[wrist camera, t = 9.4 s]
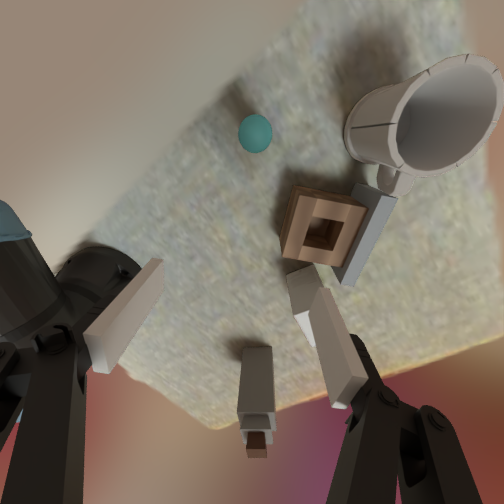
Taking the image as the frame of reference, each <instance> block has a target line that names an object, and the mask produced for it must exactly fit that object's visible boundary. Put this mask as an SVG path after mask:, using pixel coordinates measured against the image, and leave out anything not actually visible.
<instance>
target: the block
mask: <svg viewBox="0 0 504 504" xmlns="http://www.w3.org/2000/svg"><path fill="white" fill-rule="evenodd" d="M368 210H369V208H368V207H366V206H365V205H363V204H362V203H360V202H359V201H357V200H356V199H354V198H353V197H351V196H347V195H342V194H337V193H332V192H327V191H322V190H317V189H311V188H306V187H301V186H296V185H293V188H292V192H291V196H290V199H289V203H288V207H287V211H286V215H285V218H284V222H283V226H282V230H281V234H280V237H279V240H280V246H281V252H282V257H286V258H291V259H297V260H302V261H308V262H314V263H319V264H325V265H330V266H336V267H342V268H343V265H344V263H345V261H346V259H347V257H348V254H349V252H350V250H351V248H352V245H353V243H354V241H355V239H356V237H357V234H358V232H359V230H360V228H361V226H362V223H363V221H364V219H365V217H366V214H367V212H368Z"/></svg>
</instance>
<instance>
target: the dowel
mask: <svg viewBox="0 0 504 504" xmlns="http://www.w3.org/2000/svg"><path fill="white" fill-rule="evenodd" d="M238 136H239V141H240V143H241V145H242V146H243V148H244V149H246V150H247V151H249V152H251V153H259V152H262V151H263V150H265V149H266V148H267V147H268V146H269V144H270V142H271V139H272V128H271V125H270V123H269V122H268V120H267V119H266V118H265V117H263V116H261V115H257V114H254V115H250V116H248V117H246V118H245V119H244V120H243V121H242V123H241V125H240V127H239V132H238Z"/></svg>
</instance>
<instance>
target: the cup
mask: <svg viewBox="0 0 504 504" xmlns="http://www.w3.org/2000/svg"><path fill="white" fill-rule="evenodd" d="M496 68H497V66H496V65H495V64H493V63H492V62H491V61H490V60H488V59H487V58H486V57H483V56H478V55H472V54H467V55H466V54H463V55H458V56H454V57H449V58H446V59H444V60H442V61H441V62H439V63H437V64H435V65H433V66H432V67H430V68H428V69H426V70H424V71H423V72H421V73H419V74H417V75H415V76H413V77H411V78H409V79H407V80H406V81H404V82H402V83H399V84H397V85H388V86H383V87H379V88H377V89H375V90H373V91H372V92H370V93H368V94H366V95H365V96H364V97H363V98H362V99H361V100H360V101H359V102H358V103H357V104H356V105H355V106H354V108H353V109H352V111H351V113H350V114H349V116H348V119H347V122H346V125H345V128H344V141H345V145H346V148H347V151H348V152H349V153H350V155H351V156H352V157H353V158H354V159H356V160H358V161H359V162H361V163H366V164H372V165H375V164H380V165H379V169H378V174H377V185H378V188H379V189H380V190H382V191H383V192H385V193H386V194H388V195H390V196H395V197H396V196H403V195H405V194H406V193H408V192H409V191H410V189H411V187H412V185H413V182H414V180H415V178H416V176H417V177H423V178H425V177H431V176H437V175H441V174H444V173H446V172H448V171H450V170H453V169H455V168H456V167H458V166H460V165H461V164H463V163H464V162H465V161H467V160H468V159H469V158H471V157H472V156H473V155H474V154H475V153H476V152H477V151H478V150H479V149H480V148H481V146H482V145H483V144H484V143H485V142H486V141H487V140H488V138H489V136H490V135H491V133H492V131H493V130H494V128H495V126H496V125H497V123H495V122H493V121H498V120H499V117H500V114H501V111H502V108H503V105H504V81H503V78H502V76H501V74H500V71H499V69H496ZM394 169H396V170H397V171H396V173H395V176H394V174H393V173H394Z"/></svg>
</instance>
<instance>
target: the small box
mask: <svg viewBox="0 0 504 504" xmlns="http://www.w3.org/2000/svg"><path fill="white" fill-rule="evenodd" d="M286 278H287V284H288V290H289V295H290V301H291V306H292V311H293V316H294V318H295V319H296V321H297V323H298V325H299V326H300V328H301V330H302V332H303V333H304V335H305V337H306V339H307V340H308V342H309V344H310V346H311V347H315V346H316V344H315V340H314V336H313V332H312V328H311V324H310V321H309V317H308V313H309V310H310V308H311V305H312V303H313V301H314V298H315V296H316V293H317V291H318V288H319V287H323V288H324V286H323V284H322V282H321V279H320V277H319V275H318V272H317V270H316V268H315V266H314V264H313V265H310V266H307V267H305V268H302V269H300V270H297V271H295V272H292V273H290V274H287V275H286Z"/></svg>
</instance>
